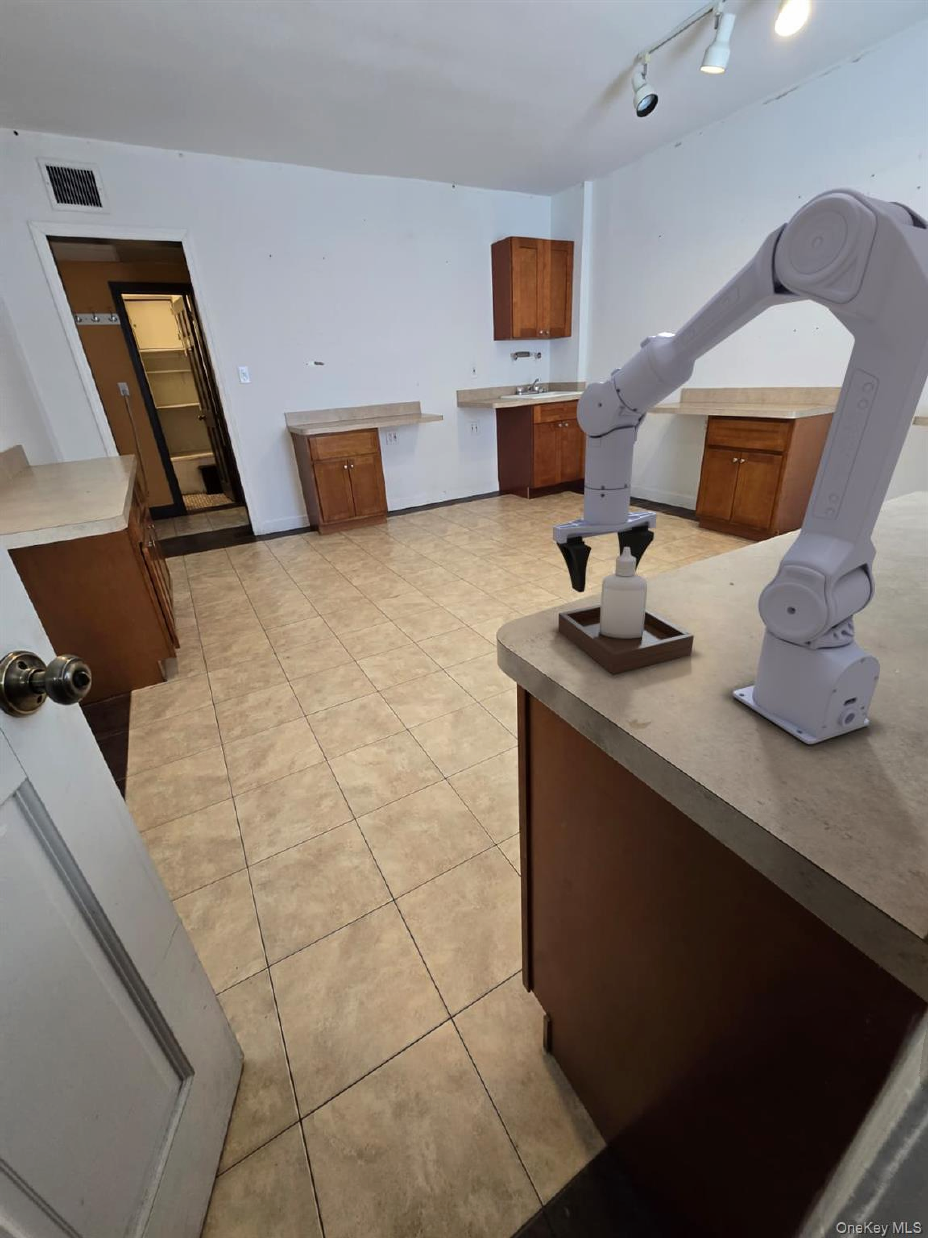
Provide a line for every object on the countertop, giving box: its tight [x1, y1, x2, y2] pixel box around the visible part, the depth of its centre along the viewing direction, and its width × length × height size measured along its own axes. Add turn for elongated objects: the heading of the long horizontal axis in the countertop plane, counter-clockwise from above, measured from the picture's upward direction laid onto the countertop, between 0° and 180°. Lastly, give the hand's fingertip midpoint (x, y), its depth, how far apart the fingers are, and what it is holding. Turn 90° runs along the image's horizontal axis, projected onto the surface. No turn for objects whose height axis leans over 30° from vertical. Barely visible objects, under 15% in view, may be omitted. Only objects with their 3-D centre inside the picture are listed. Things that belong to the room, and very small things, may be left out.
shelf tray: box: [558, 604, 695, 675], centre depth 69 cm, size 14×12×3 cm
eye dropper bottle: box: [600, 547, 648, 639], centre depth 66 cm, size 4×6×12 cm
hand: (602, 585), depth 71 cm, fingers open, 7 cm apart
